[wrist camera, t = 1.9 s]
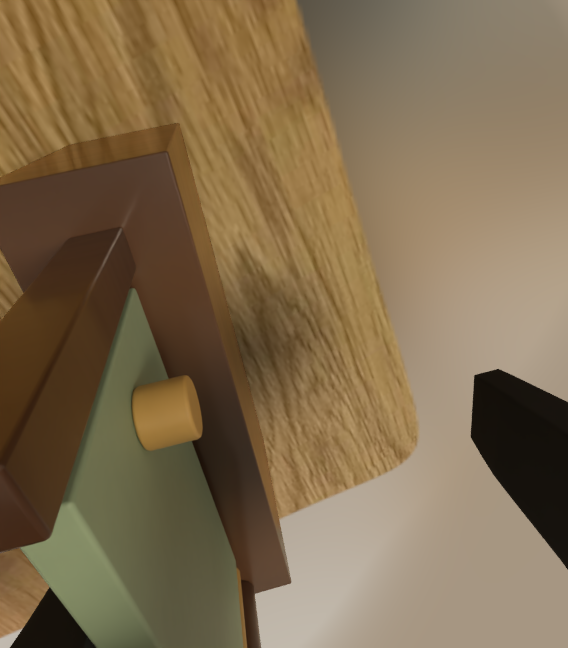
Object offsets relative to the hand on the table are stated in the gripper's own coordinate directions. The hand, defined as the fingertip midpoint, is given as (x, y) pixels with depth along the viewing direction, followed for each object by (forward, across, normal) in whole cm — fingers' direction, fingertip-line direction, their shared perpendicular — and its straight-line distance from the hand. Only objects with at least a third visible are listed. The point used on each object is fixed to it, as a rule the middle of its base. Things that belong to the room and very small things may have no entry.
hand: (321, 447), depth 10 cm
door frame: (+10, +4, +1) cm, 11 cm away
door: (+2, +3, +2) cm, 4 cm away
